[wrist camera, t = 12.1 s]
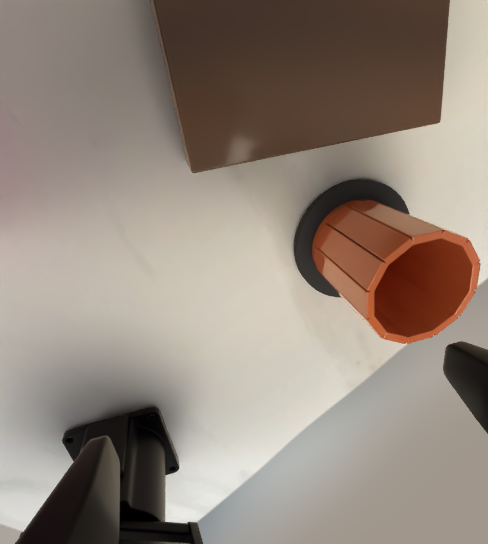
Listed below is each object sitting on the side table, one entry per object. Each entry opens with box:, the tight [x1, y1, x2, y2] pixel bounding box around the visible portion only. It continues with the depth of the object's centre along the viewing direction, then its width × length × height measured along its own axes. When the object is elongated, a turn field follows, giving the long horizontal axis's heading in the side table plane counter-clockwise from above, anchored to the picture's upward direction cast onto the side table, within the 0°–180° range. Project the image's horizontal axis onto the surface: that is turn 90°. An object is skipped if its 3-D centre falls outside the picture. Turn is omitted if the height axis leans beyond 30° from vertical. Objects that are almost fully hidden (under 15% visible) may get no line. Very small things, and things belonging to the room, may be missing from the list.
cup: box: [312, 199, 480, 344], centre depth 19 cm, size 6×6×6 cm
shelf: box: [150, 0, 450, 173], centre depth 15 cm, size 9×12×4 cm
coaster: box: [294, 180, 409, 297], centre depth 22 cm, size 8×8×1 cm
